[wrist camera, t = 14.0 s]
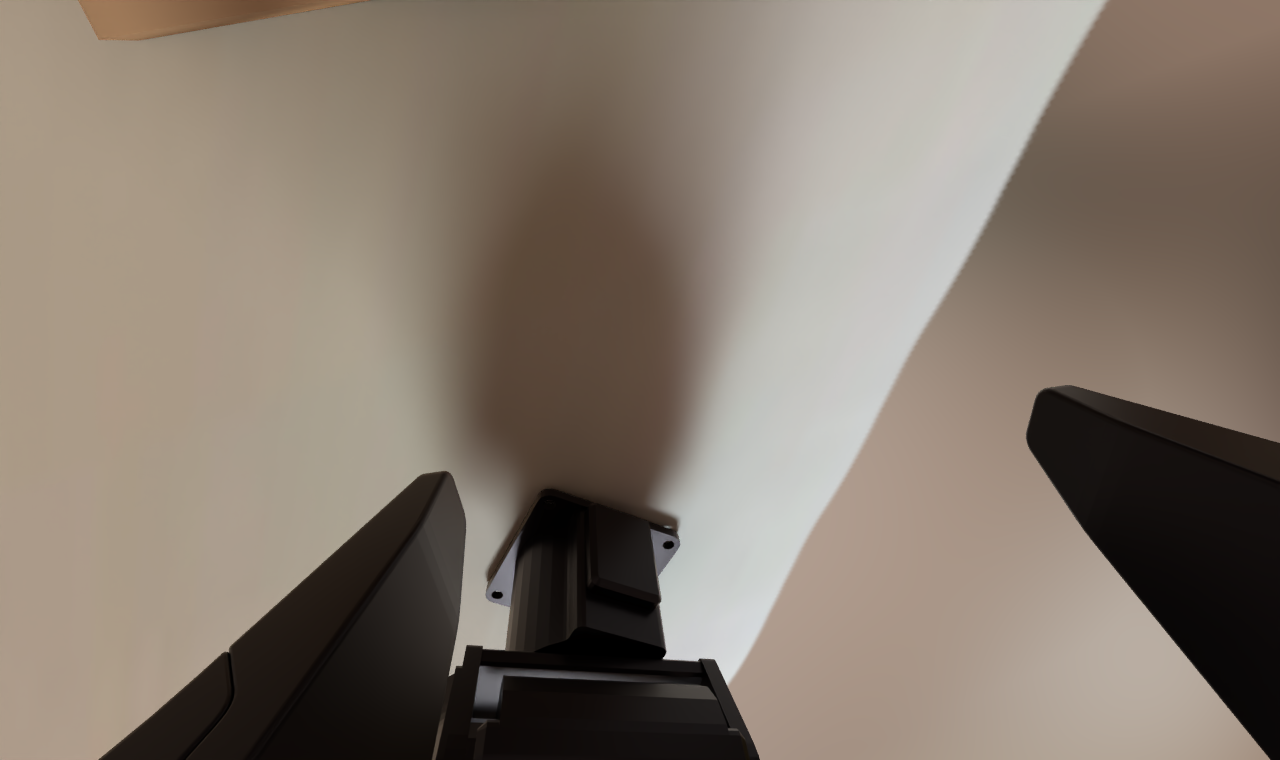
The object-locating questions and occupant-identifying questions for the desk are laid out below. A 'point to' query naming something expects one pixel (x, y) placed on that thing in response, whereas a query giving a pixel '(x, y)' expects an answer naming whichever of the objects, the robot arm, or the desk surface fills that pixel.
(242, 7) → the tan flat block
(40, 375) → the desk surface
